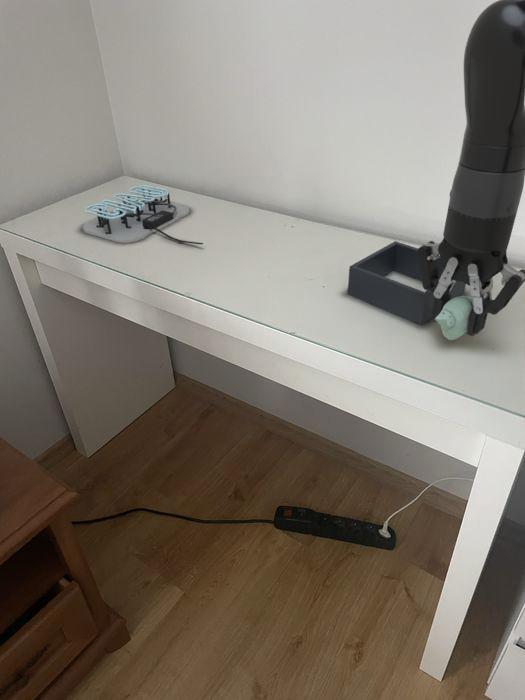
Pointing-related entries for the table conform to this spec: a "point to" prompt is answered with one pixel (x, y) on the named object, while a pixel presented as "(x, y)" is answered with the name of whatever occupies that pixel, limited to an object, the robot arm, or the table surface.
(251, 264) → the table surface
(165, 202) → the neon sign
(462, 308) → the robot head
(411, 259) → the bin
